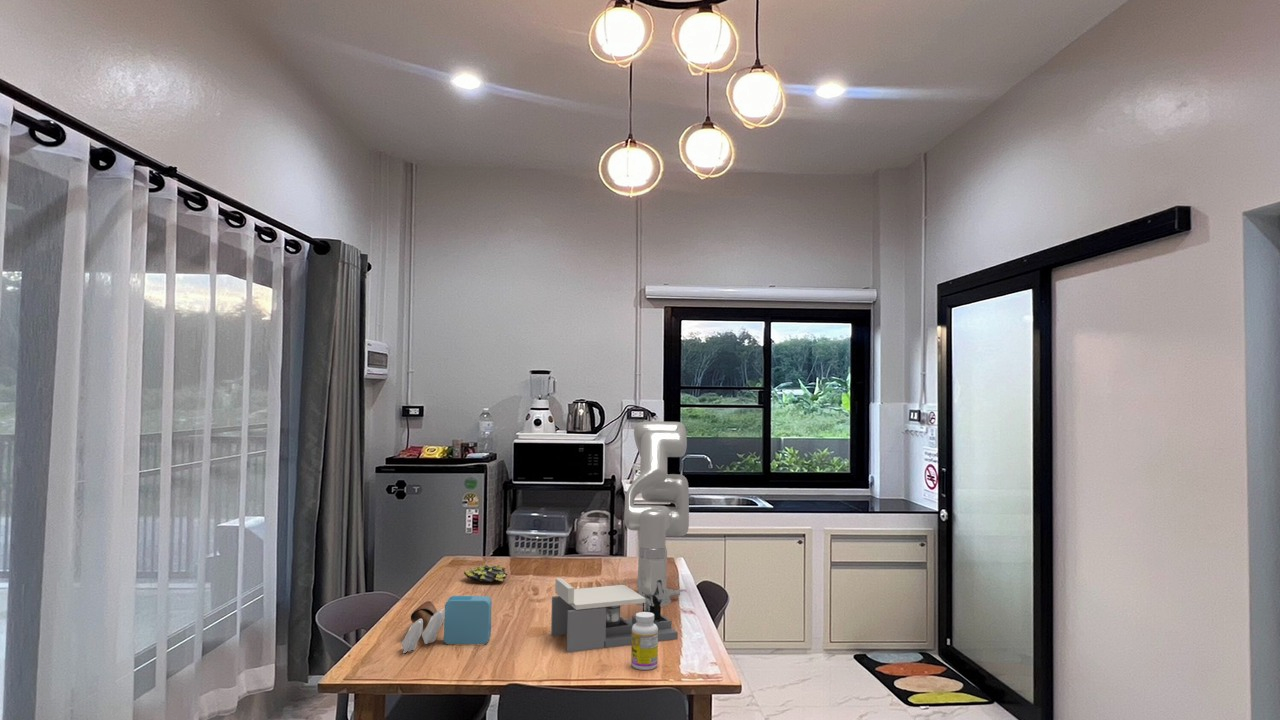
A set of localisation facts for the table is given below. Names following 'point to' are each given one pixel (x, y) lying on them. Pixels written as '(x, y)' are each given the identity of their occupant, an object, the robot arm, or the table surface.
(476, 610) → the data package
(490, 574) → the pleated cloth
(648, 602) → the silver metal shaker
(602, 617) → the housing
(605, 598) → the lid
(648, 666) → the supplement bottle
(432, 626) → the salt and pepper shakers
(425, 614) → the sunglasses case
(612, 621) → the glass spice jar
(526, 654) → the table surface
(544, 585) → the table surface
